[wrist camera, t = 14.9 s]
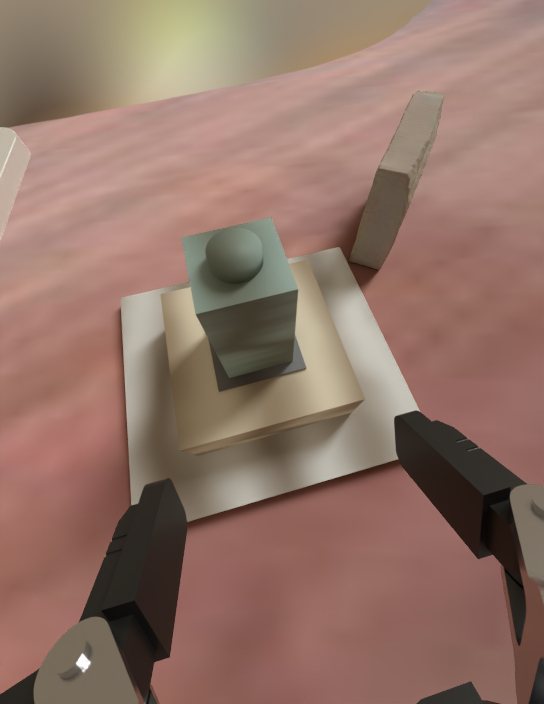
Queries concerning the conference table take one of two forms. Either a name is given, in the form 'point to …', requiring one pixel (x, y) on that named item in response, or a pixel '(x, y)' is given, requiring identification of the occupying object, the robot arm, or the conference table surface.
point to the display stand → (259, 396)
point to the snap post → (243, 295)
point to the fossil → (397, 179)
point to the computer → (10, 171)
